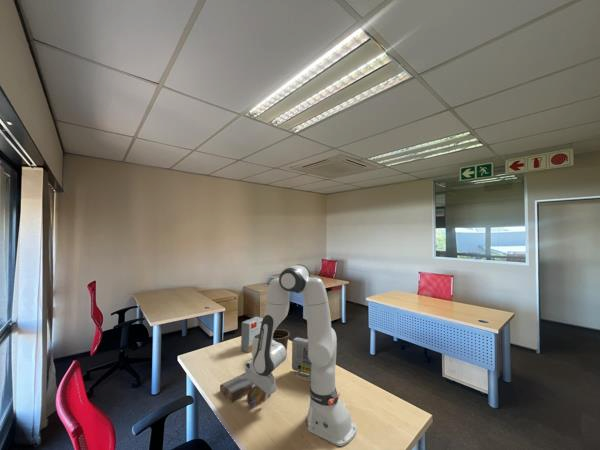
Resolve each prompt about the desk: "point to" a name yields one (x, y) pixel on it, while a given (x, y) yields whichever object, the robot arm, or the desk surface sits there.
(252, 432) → the desk surface
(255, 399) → the tin
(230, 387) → the plinth
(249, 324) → the hard drive box
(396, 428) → the desk surface
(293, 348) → the network device
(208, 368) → the desk surface
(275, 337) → the plant pot
